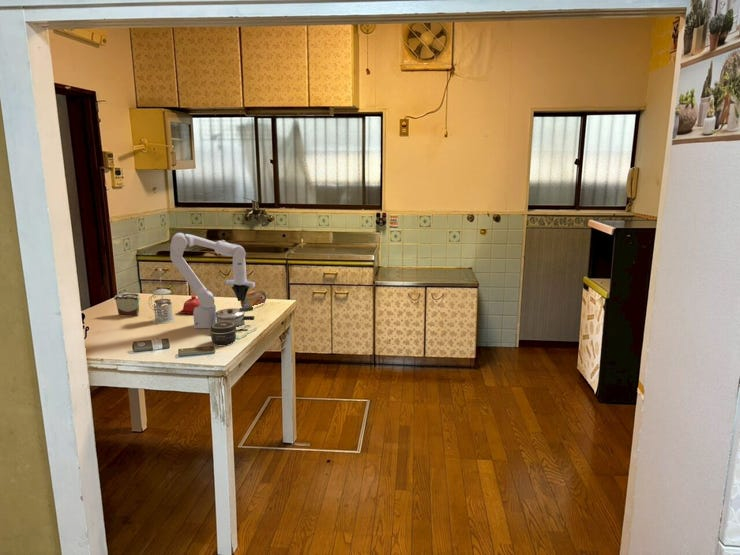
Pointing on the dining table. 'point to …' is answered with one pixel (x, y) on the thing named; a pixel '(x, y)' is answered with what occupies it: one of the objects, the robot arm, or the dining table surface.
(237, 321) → the cooker pot
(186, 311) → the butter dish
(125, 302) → the food container
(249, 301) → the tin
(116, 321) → the dining table surface
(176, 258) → the robot arm
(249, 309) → the cooker lid
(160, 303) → the french press
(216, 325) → the jar
